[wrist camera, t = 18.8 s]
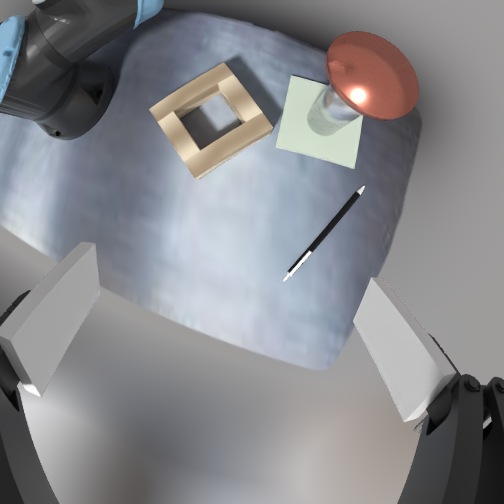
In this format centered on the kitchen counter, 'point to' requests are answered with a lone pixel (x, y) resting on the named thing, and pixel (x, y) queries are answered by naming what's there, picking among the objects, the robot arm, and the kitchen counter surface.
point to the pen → (324, 233)
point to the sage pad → (307, 141)
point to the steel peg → (363, 83)
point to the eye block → (195, 96)
